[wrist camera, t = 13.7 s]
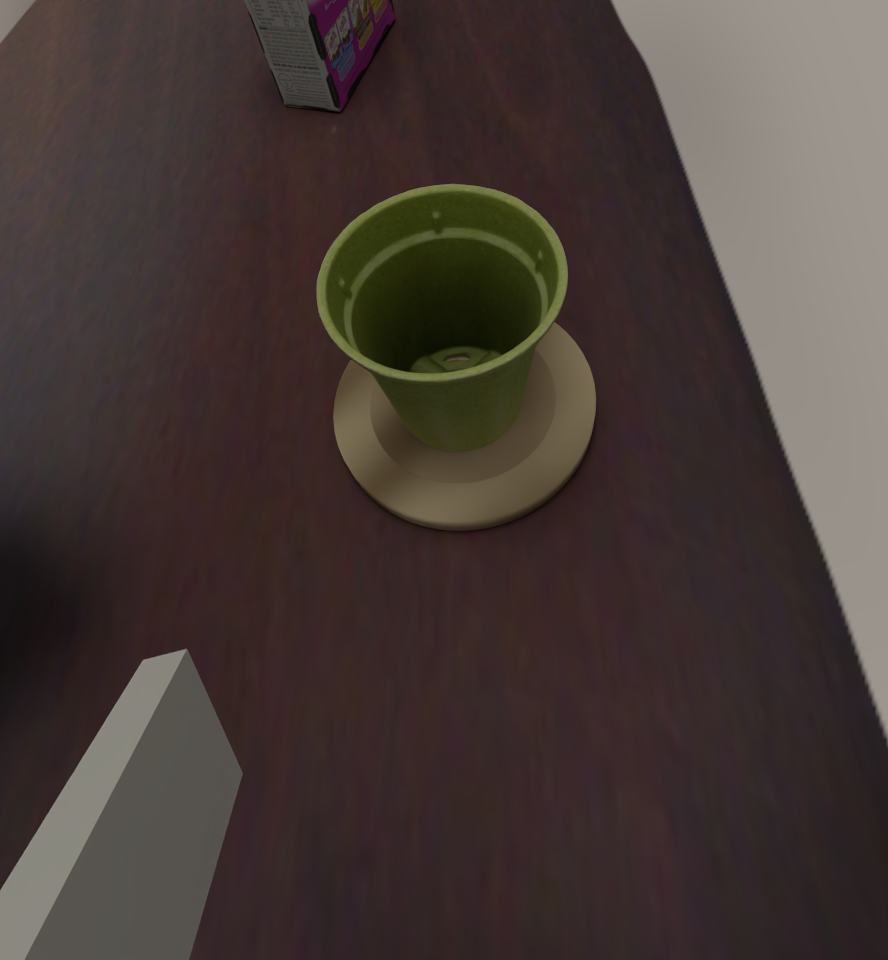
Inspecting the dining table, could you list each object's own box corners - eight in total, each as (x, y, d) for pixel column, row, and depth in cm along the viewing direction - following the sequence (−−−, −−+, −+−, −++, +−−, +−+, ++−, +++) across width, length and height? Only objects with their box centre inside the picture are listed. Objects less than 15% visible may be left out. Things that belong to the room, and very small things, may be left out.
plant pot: (544, 312, 33) (548, 167, 25) (572, 474, 29) (586, 361, 21) (368, 335, 34) (319, 201, 26) (370, 496, 30) (312, 395, 22)
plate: (290, 455, 33) (281, 443, 31) (428, 280, 37) (425, 264, 35) (509, 581, 28) (508, 572, 27) (639, 367, 32) (643, 352, 31)
